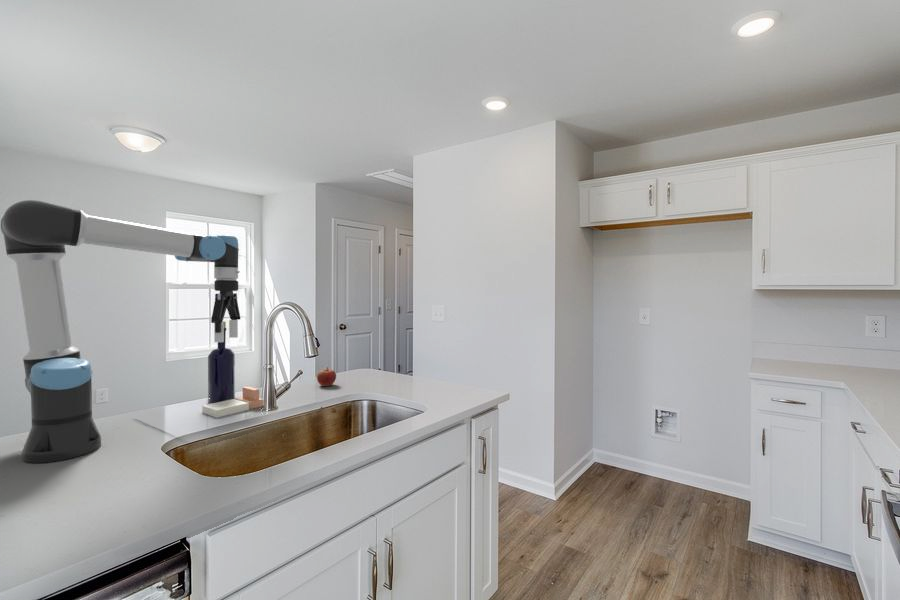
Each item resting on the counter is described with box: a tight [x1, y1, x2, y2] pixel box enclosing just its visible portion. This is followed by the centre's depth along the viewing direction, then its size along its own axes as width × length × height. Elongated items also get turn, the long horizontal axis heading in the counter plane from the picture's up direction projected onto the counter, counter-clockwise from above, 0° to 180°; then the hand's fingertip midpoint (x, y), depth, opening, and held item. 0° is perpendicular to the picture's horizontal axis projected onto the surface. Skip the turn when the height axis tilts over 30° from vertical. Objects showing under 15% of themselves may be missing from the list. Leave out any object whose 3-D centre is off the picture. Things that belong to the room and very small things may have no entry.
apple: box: [316, 367, 337, 387], centre depth 188 cm, size 8×8×8 cm
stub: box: [235, 386, 264, 410], centre depth 152 cm, size 5×9×6 cm, turn 55°
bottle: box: [207, 320, 236, 404], centre depth 158 cm, size 9×9×30 cm
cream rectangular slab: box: [201, 397, 250, 418], centre depth 145 cm, size 11×9×2 cm
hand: (226, 339), depth 153 cm, fingers open, 13 cm apart
